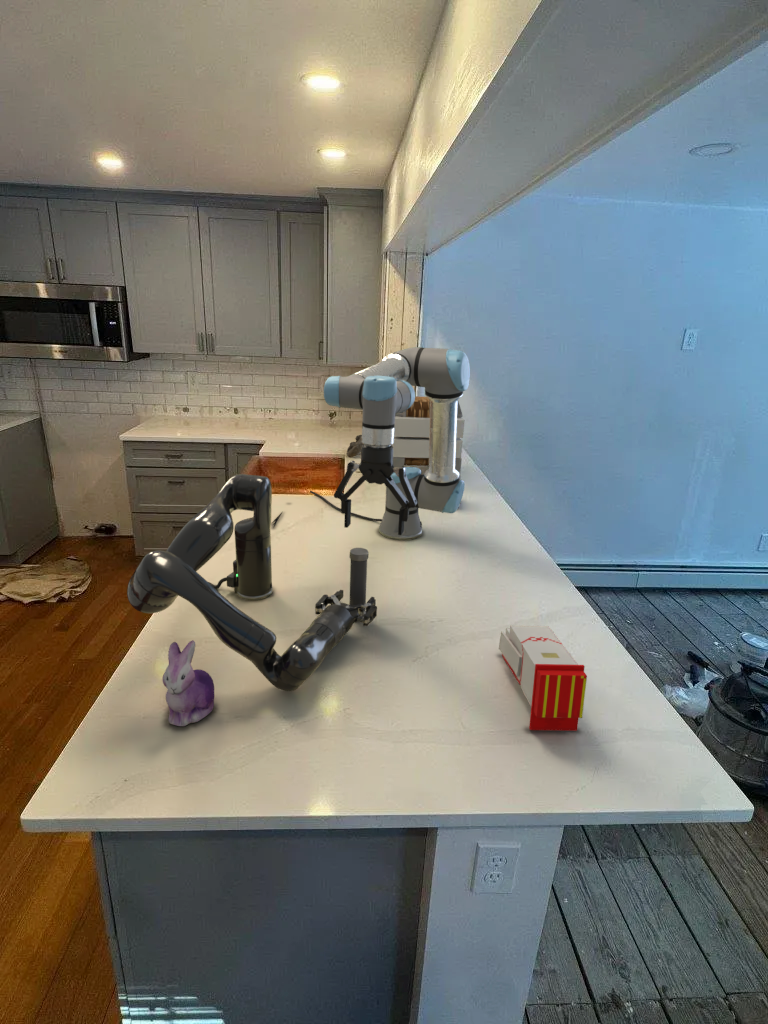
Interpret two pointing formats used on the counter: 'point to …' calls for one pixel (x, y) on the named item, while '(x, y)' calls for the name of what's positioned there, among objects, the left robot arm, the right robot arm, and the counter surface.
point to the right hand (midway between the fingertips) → (373, 529)
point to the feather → (276, 520)
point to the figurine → (187, 687)
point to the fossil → (355, 447)
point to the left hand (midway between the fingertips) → (357, 596)
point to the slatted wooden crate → (420, 435)
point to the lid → (358, 554)
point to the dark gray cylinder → (358, 582)
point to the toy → (545, 676)
